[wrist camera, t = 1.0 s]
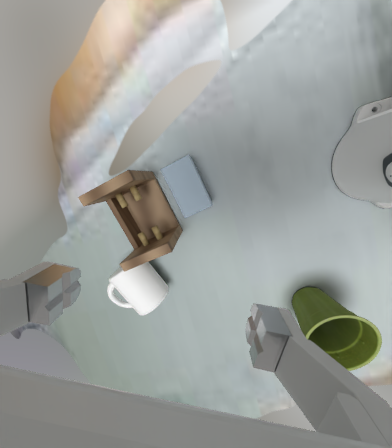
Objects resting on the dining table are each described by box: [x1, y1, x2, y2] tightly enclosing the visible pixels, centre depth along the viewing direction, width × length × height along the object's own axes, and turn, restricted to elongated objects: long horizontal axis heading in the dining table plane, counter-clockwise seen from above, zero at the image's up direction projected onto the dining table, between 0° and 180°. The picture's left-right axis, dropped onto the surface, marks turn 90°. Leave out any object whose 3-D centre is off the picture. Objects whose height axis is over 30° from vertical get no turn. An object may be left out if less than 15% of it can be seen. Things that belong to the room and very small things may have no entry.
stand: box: [78, 170, 183, 272], centre depth 33 cm, size 9×14×11 cm, turn 26°
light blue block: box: [160, 155, 212, 218], centre depth 34 cm, size 6×10×5 cm, turn 26°
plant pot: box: [292, 287, 382, 371], centre depth 35 cm, size 12×12×11 cm
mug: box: [107, 262, 169, 315], centre depth 39 cm, size 12×10×8 cm
